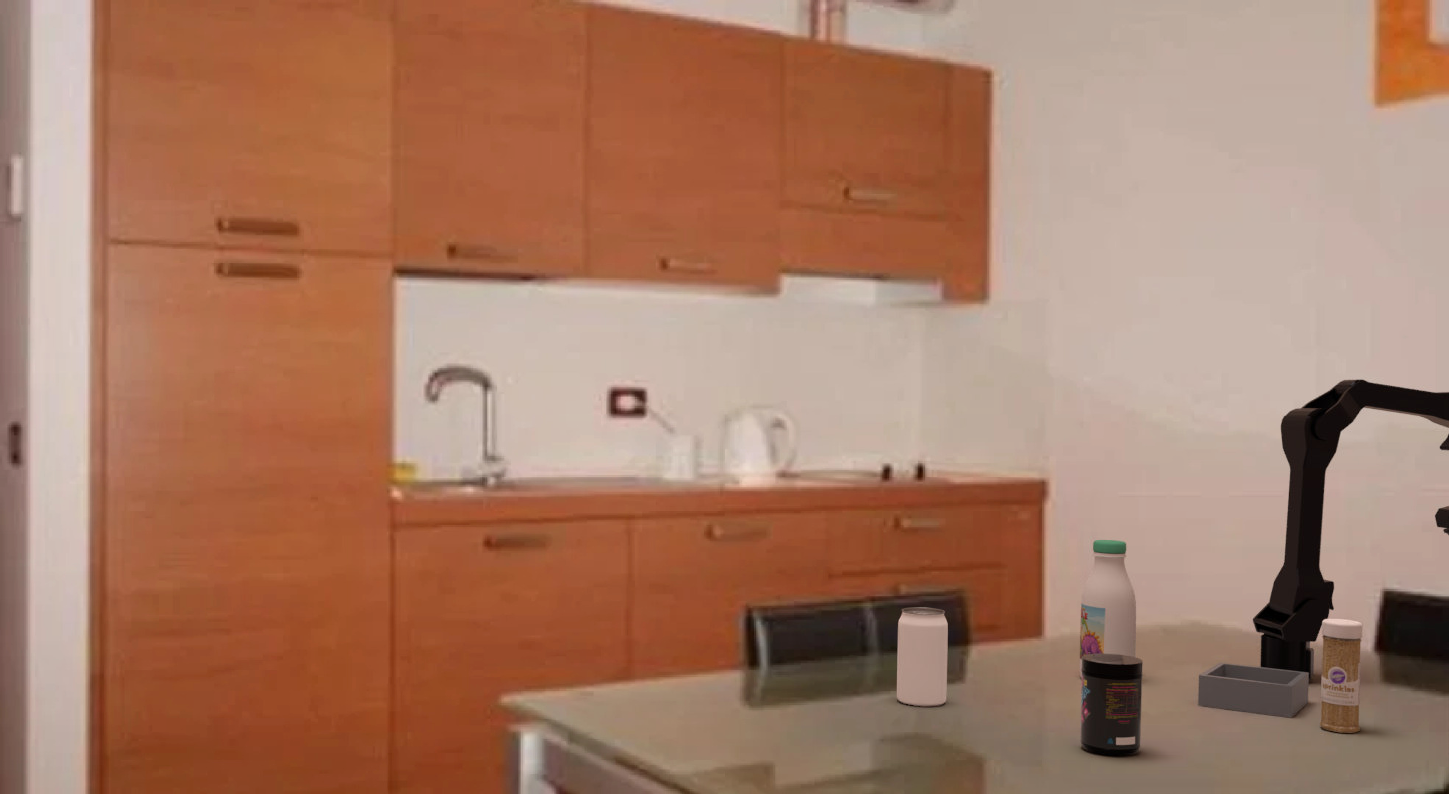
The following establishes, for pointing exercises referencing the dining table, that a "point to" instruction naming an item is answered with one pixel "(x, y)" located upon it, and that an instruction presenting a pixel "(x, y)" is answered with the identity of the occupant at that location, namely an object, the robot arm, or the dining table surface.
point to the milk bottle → (1108, 604)
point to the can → (922, 657)
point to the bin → (1253, 689)
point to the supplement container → (1111, 704)
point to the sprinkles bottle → (1340, 675)
